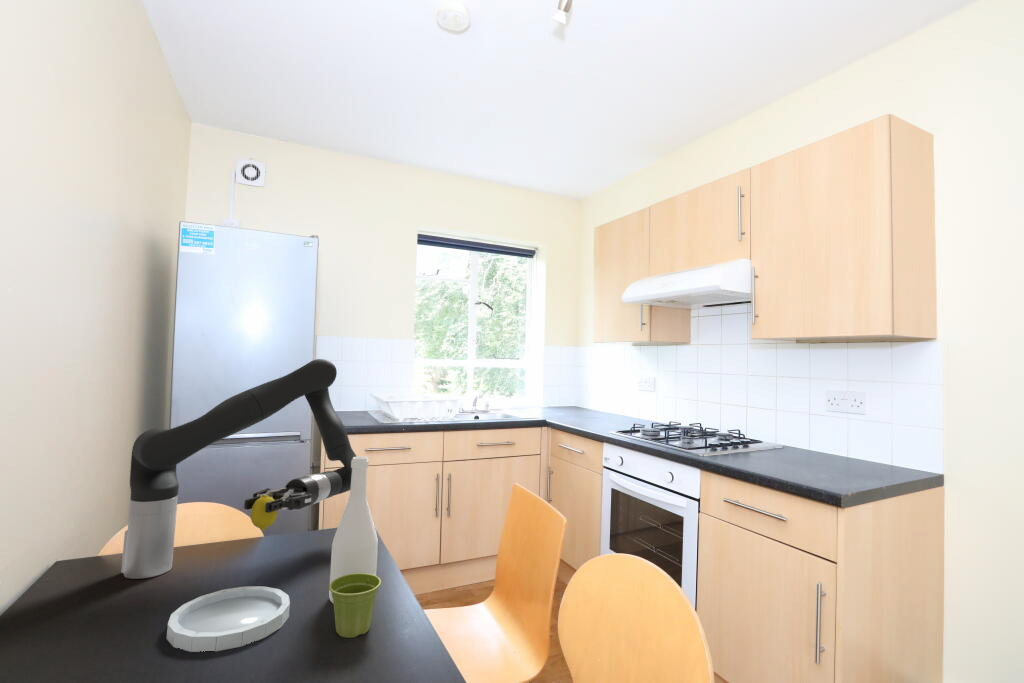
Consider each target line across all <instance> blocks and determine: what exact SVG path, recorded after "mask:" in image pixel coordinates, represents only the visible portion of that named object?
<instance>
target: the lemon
mask: <svg viewBox="0 0 1024 683" xmlns="http://www.w3.org/2000/svg"><path fill="white" fill-rule="evenodd" d="M271 501H274V499H273V497H268V496H267V495H264V496H263V497H261V498H259V499H258V500H257V501H256V502H255V503H254V505H253V507H252V509H250V521H251V523H252V525H253V526H254V527H256V528H258V529H259V530H261V531H265V530H266V529H267V528H269V527H271V526H272V525H273V524H274V523H275V521H276V520H277V517H278V512H279V510H276V511H273V512H270V513H267V512H265V508H266V503H267V502H271Z"/></svg>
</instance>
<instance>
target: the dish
mask: <svg viewBox="0 0 1024 683" xmlns="http://www.w3.org/2000/svg"><path fill="white" fill-rule="evenodd" d="M290 607H291V601H290V596H289V594H287V592H284V591H283V590H281V589H280V588H275V587H268V586H264V585H263V586H253V585H252V586H249V585H247V586H245V585H244V586H238V587H232V588H225V589H221V590H217V591H214V592H213V591H212V592H211V593H207V594H204V595H200V596H198V597H196V598H195V599H194V598H193V599H192V600H189V601H188V602H186V603H183V604H182V605H181V606H180V607H178V608H177V609H175V610H174V611H173V612H172V613H170V617H169V620H168V621H167V628H166V629H167V630H166V640H167V641H168V643H169V644H170V645H171V646H172V647H173V648H175V649H178V648H180V649H179V650H182V649H183V651H187V652H190V653H193V652H194V653H200V651H201V653H202V652H203V651H204V653H206V652H205V651H215V652H219V651H224V650H230V649H234V648H235V649H236V648H240V647H243V646H246V644H247V645H249V644H252V643H255V642H256V641H260V640H262V639H265V638H267V637H268V636H270V635H272V634H273V633H275V632H276V631H277V630H279V629H281V628H282V627H283V626H284V624H285V623H286V622H287V620H288V619H289V618H290ZM254 641H255V642H254ZM251 642H252V643H251Z"/></svg>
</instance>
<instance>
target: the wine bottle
mask: <svg viewBox="0 0 1024 683" xmlns="http://www.w3.org/2000/svg"><path fill="white" fill-rule="evenodd" d="M369 462H370V461H369V458H368V456H357V457H353V460H352V461H351V468H352V476H351V488H350V490H349V492H350V493H349V496H348V501H347V503H346V506H345V509H344V510H343V514H342V516H341V519H340V521H339V524H338V527H337V529H336V532H335V534H334V537H333V540H332V544H331V558H330V572H329V584H330V583H331V582H332V581H333V580H335V579H336V578H339V577H341V576H344V575H348V574H355V573H368V574H373V575H376V576H377V566H378V565H377V564H378V549H379V545H378V544H379V540H378V534H377V530H376V527H375V524H374V520H373V517H372V512H371V509H370V506H369V502H368V497H367V496H368V495H367V485H368V484H367V483H368V482H367V481H368V469H369ZM328 590H329V592H328V598H329V600H330V603H332V604H333V605H334V602H333V598H332V593H331V591H330V589H329V588H328Z"/></svg>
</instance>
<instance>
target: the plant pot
mask: <svg viewBox="0 0 1024 683" xmlns="http://www.w3.org/2000/svg"><path fill="white" fill-rule="evenodd" d="M381 584H382V580H381V578H380V577H379V576H377V574H376V575H373V574H368V573H355V574H348V575H344V576H341V577H339V578H336V579H335V580H333V581H332V582H331V583H330V582H329V586H328V587H329V588H328V590H329V589H330V591H331V593H332V598H333V602H334V604H333V610H334V622H335V632H336V633H337V634H338V636H340V637H342V638H347V639H348V638H350V639H351V638H353V639H354V638H356V637H358V636H360V635H365V634H366V633H367V632H368V631H369V630H370V628H371V623H372V617H373V611H374V607H375V600H376V596H377V593H378V592H379V591H378V590H379V587H380V586H381Z"/></svg>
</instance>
